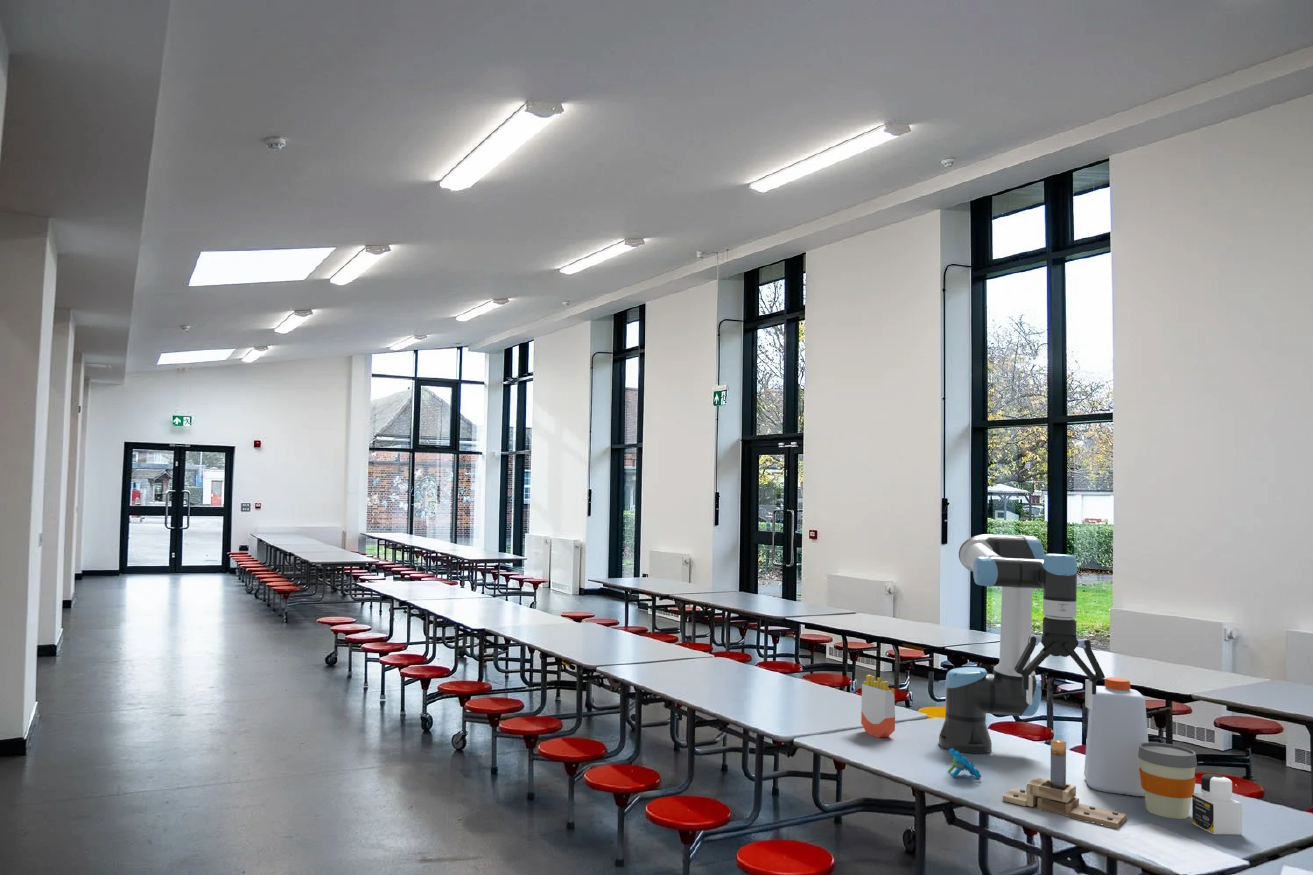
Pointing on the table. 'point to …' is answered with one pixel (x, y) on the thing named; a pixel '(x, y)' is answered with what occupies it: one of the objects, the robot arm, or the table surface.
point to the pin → (1058, 765)
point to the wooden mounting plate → (1083, 812)
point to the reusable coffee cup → (1167, 778)
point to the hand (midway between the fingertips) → (1058, 705)
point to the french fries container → (877, 707)
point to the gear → (962, 765)
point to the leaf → (1039, 793)
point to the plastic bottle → (1115, 738)
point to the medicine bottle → (1216, 807)
